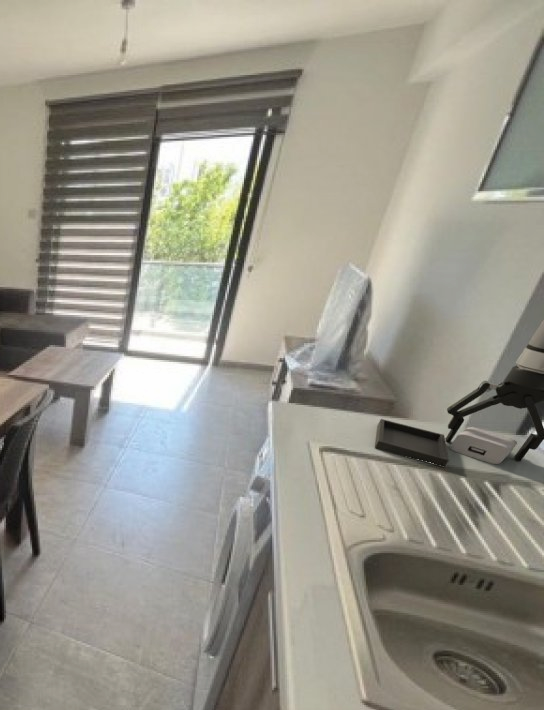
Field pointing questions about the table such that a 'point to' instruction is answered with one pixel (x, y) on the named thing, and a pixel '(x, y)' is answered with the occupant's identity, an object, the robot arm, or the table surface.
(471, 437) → the charger
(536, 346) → the robot arm
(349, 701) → the table surface
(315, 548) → the table surface
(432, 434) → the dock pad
